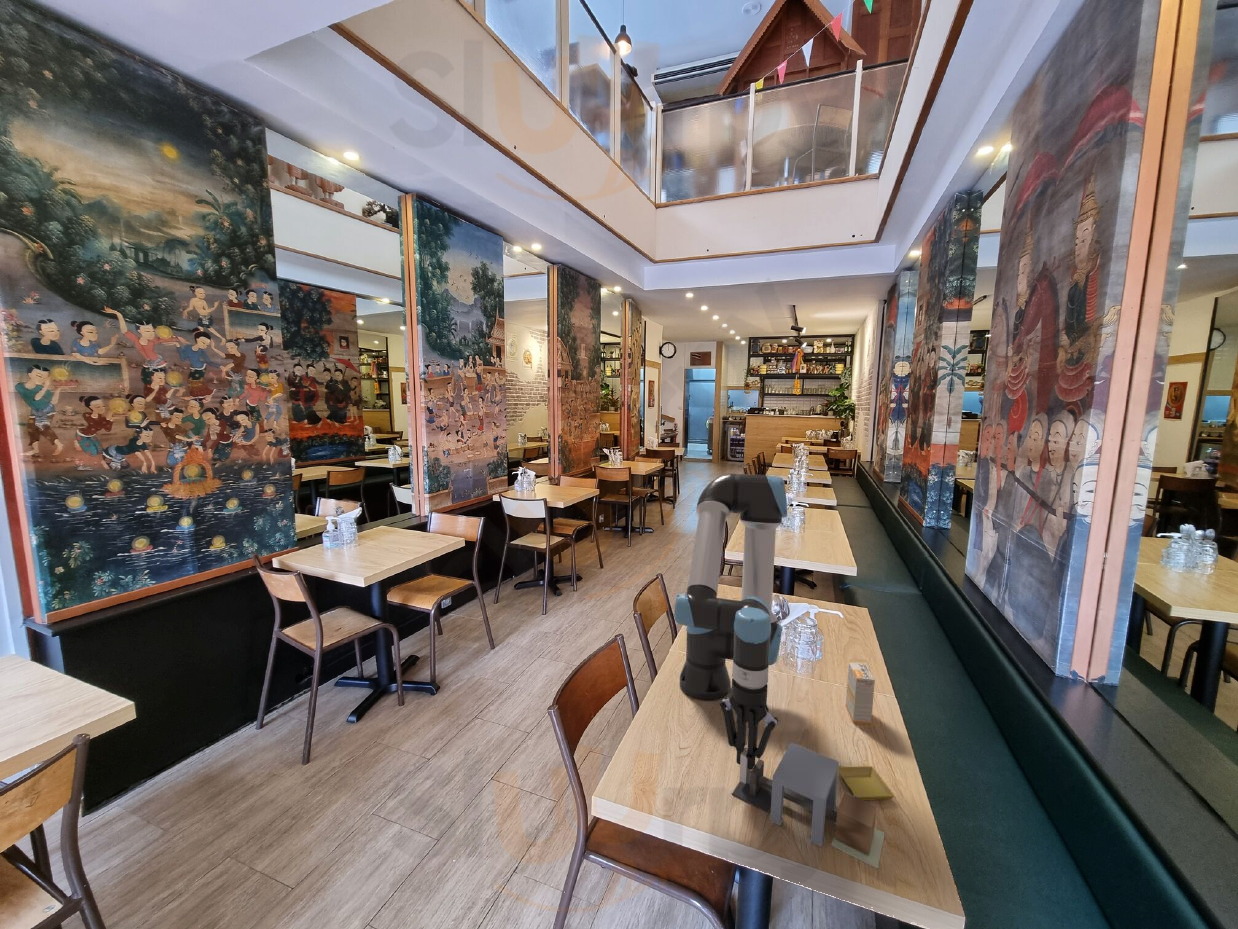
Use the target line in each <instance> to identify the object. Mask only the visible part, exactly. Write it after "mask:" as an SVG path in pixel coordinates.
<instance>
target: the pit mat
mask: <svg viewBox="0 0 1238 929" xmlns="http://www.w3.org/2000/svg"><path fill="white" fill-rule="evenodd" d="M750 775H751V773H750ZM763 777H764V778H766V779H768V780H771V781H772V780H773V779H770V778H769V777H766V776H764V775H763ZM731 795H732V796H734V797H735V798H739V799H740V800H741V801H744V802H746V803H747V804H749V805H752V806H754V807H756V808H758V809H760V810H761V811H763V812H766V813H767V814H768V813H769V812H770V811H771V798H772V792H770V791H768V790H766V789H764V788H762V787H760V788H759V790H758V792H757V794H756V796H753V795H751V794H750V778H749V779H748V781H747V783H746V784H745V783H743V782H741V781H739V782H738V783H737V784H736V787H735V788H734V790H733V791H732V793H731Z"/></svg>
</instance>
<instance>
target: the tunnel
mask: <svg viewBox="0 0 1238 929" xmlns="http://www.w3.org/2000/svg"><path fill="white" fill-rule="evenodd" d="M839 767H840V762H839V761H838V760H836V759H834V758H830V757H829V756H826V755H824V754H821V753H819V752H816V751H814V750H811V749H809V748H806V747H804V746H802V745H799V744H796V743H794V742H792V741H791V742H789V745H788V747H787V748H786V750H785V752H784V754H783V756H782V757H781V760H780V762H779V763H778V765H777V767H776V769H775V771H774V773H773V775H772V779H771V780H772V798H771V808H770V815H769V816H770V818H769V821H770V822H772V823H774V824H776V825H777V826H781V824H782V822H783V816H784V800H785V798H784V787H785V788H788V789H790V790H792V791H794V792H796V793H798V794H800V795H802V796H805V797H807V798H809V799H811V800H813V812H812V817H811V829H810V830H811V831H810V843H813V844H814V845H816V846H818V847H820V848H822V846H823V843H824V835H825V823H826V818H825V812H826V807H828V808H830V809H832V810H834V811H835V809H836V805H837V793H838V781H839V771H838V770H839Z"/></svg>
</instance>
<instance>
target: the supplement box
mask: <svg viewBox="0 0 1238 929" xmlns="http://www.w3.org/2000/svg"><path fill="white" fill-rule="evenodd" d="M847 668H848V669H847V670H848V671H847V684H846V695H845V696H846V698H845V707H846V710H847V712H848V714H849V717H850V719H851V720H852V721H851V722H852V723H853V724H859V725H865V726H872V717H873V704H874V696H875V695H874V693H875V682H876V681H875V678H874V676H873V675H872V673H871V671H870V669H869V667H868V665H867V664H864V663H857V662H849V663H848V667H847Z"/></svg>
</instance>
